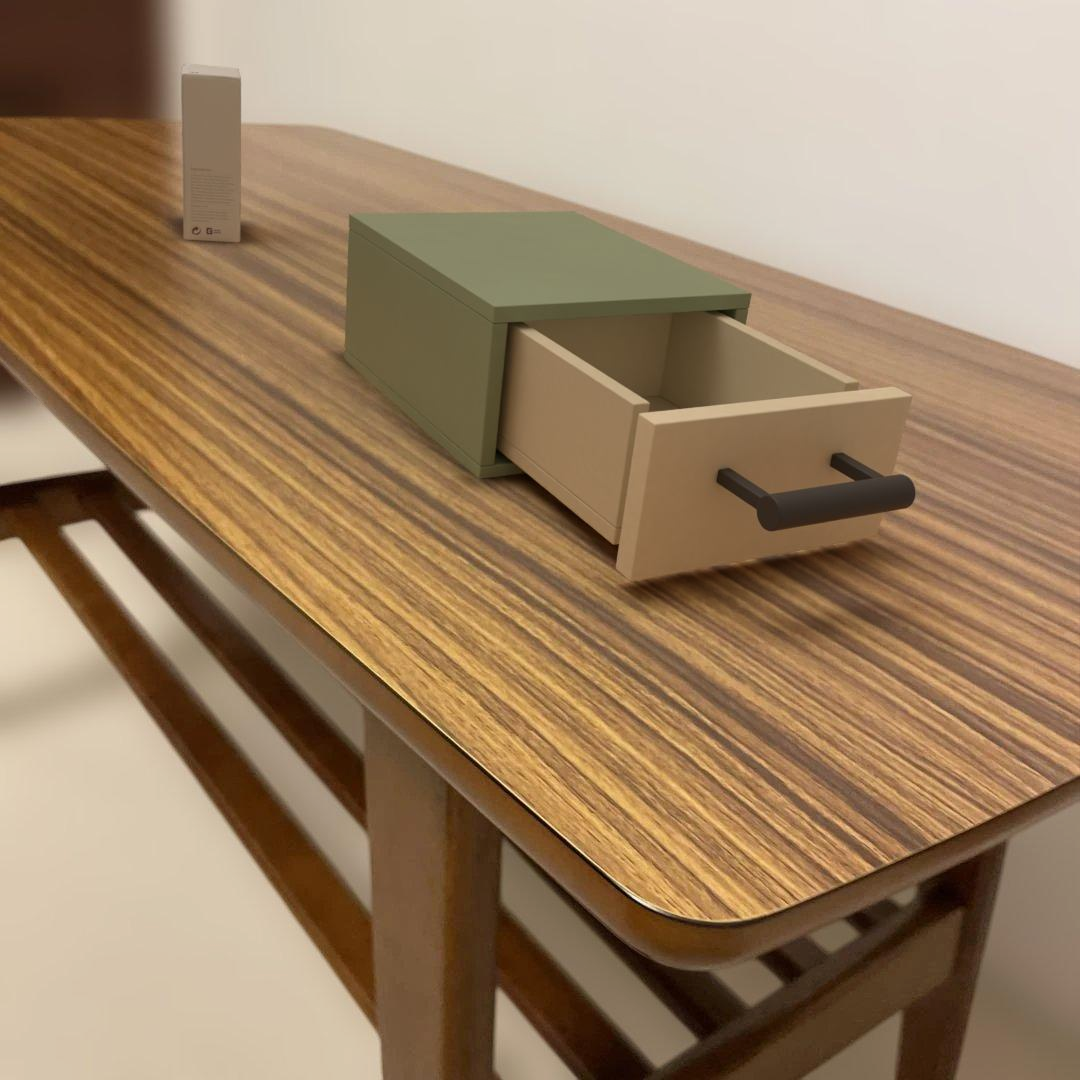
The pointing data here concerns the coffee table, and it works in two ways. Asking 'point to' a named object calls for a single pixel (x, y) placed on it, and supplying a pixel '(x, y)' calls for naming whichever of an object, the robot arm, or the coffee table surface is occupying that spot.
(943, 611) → the coffee table surface
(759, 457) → the drawer
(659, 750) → the coffee table surface
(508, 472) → the cabinet
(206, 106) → the cosmetic box
